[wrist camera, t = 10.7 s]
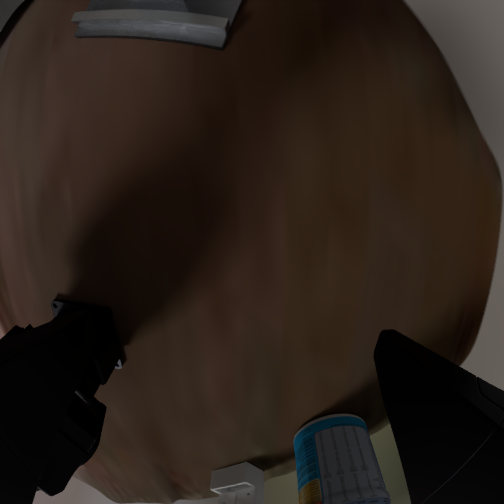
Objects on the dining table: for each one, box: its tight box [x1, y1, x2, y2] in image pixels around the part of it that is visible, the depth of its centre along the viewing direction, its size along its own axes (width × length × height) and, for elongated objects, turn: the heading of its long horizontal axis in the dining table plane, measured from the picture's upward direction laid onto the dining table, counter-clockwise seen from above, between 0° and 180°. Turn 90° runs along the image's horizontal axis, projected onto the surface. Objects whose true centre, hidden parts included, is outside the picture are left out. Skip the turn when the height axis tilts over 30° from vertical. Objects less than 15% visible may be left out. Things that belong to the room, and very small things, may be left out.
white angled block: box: [210, 462, 264, 504], centre depth 26 cm, size 4×10×9 cm, turn 127°
